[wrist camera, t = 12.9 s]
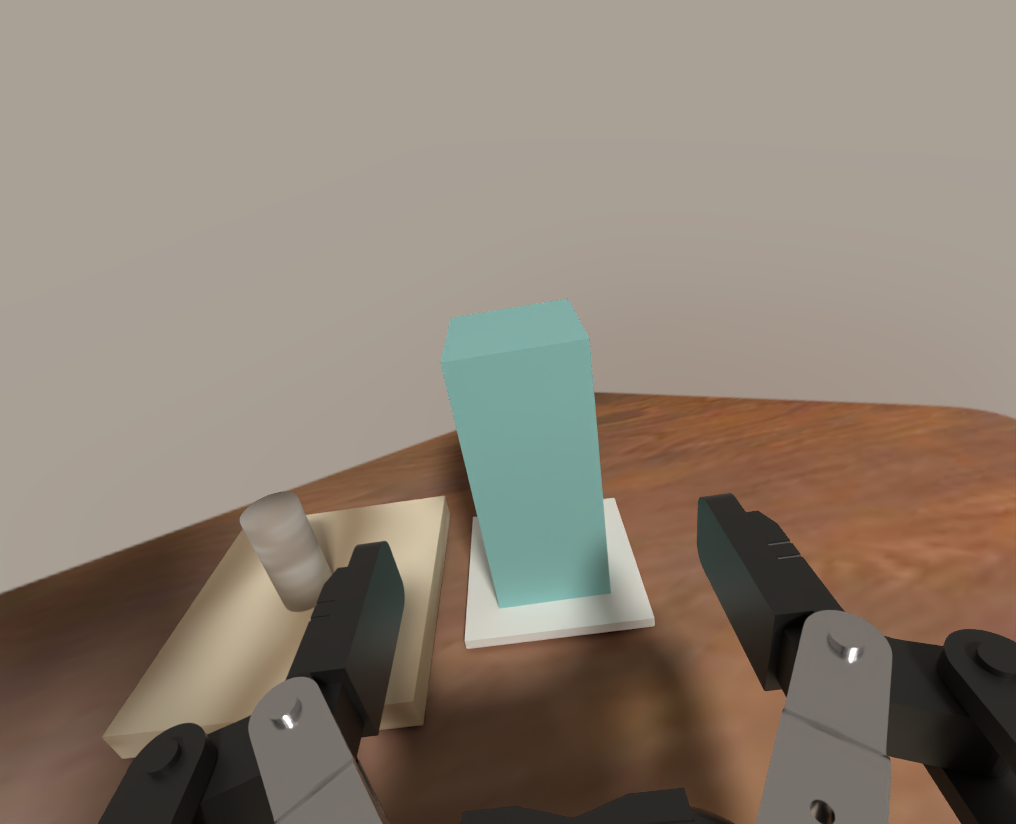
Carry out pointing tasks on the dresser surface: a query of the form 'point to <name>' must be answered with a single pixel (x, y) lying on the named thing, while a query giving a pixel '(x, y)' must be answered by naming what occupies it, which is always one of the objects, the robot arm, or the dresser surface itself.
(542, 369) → the tall teal pillar
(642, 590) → the mat
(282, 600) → the post stand
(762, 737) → the dresser surface
